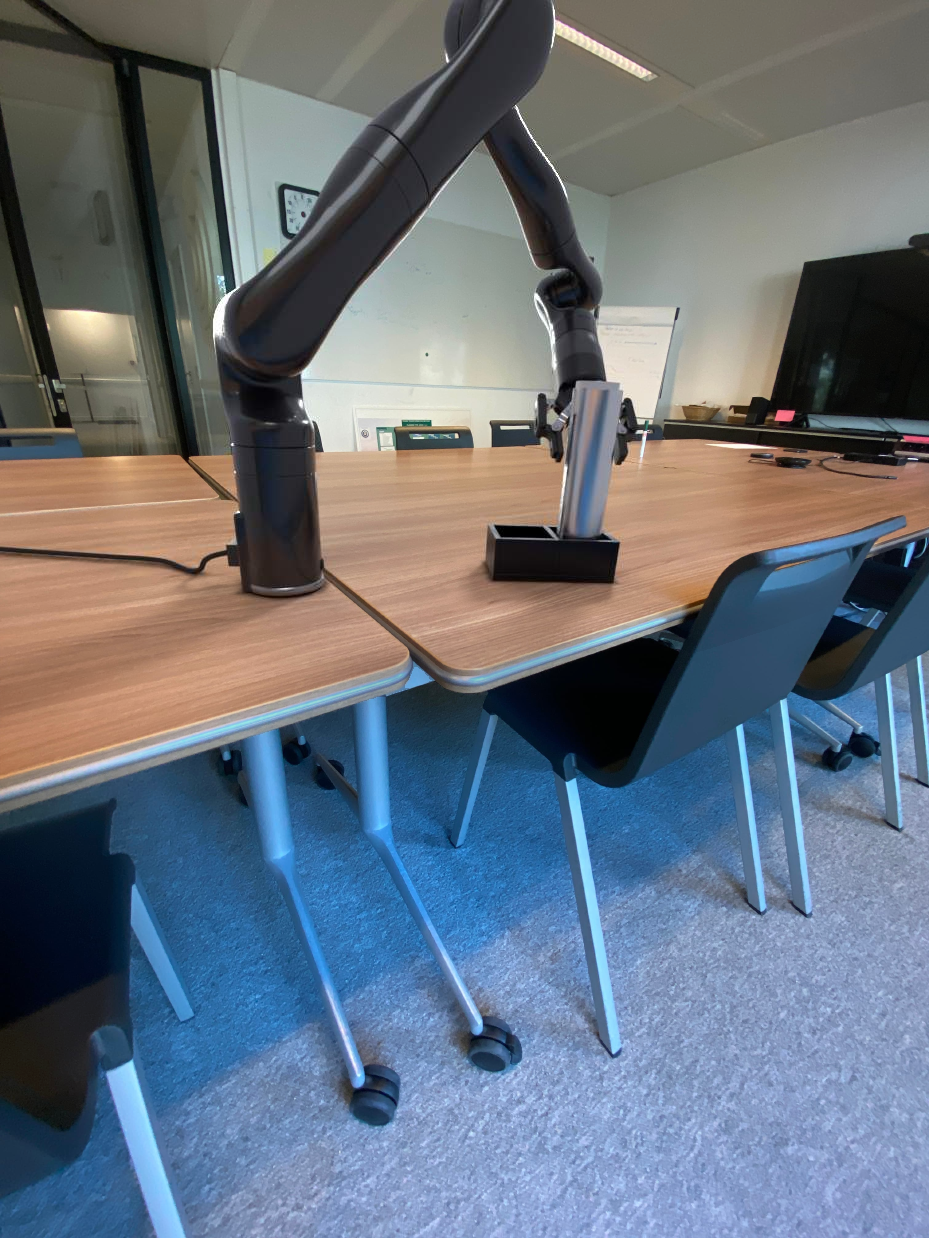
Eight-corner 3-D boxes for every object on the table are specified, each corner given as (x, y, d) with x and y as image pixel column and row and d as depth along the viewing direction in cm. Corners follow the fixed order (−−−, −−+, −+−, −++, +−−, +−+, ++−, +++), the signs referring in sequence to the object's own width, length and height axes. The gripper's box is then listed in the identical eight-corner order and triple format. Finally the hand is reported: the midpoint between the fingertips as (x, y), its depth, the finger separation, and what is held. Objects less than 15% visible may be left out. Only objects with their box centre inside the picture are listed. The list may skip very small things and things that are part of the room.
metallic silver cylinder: (597, 573, 76) (626, 381, 66) (551, 568, 77) (573, 378, 67) (596, 560, 81) (623, 383, 72) (553, 556, 83) (574, 380, 73)
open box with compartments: (492, 580, 74) (495, 538, 72) (485, 561, 82) (487, 523, 80) (613, 583, 76) (620, 542, 73) (594, 564, 84) (599, 527, 82)
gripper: (536, 347, 75) (545, 439, 69) (634, 353, 76) (651, 444, 70) (526, 388, 82) (533, 475, 76) (616, 393, 83) (630, 479, 77)
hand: (590, 460), depth 73 cm, fingers open, 8 cm apart
